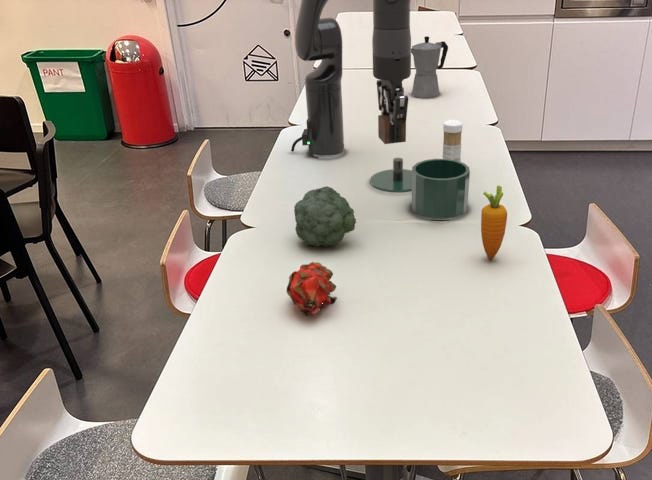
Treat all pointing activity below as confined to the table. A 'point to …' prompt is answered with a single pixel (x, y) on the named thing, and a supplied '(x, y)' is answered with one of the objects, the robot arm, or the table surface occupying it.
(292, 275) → the dragon fruit
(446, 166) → the pot
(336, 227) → the vegetable
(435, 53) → the coffeepot
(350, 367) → the table surface
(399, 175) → the lid
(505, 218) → the carrot
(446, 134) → the sprinkles bottle
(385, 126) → the block
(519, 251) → the table surface
